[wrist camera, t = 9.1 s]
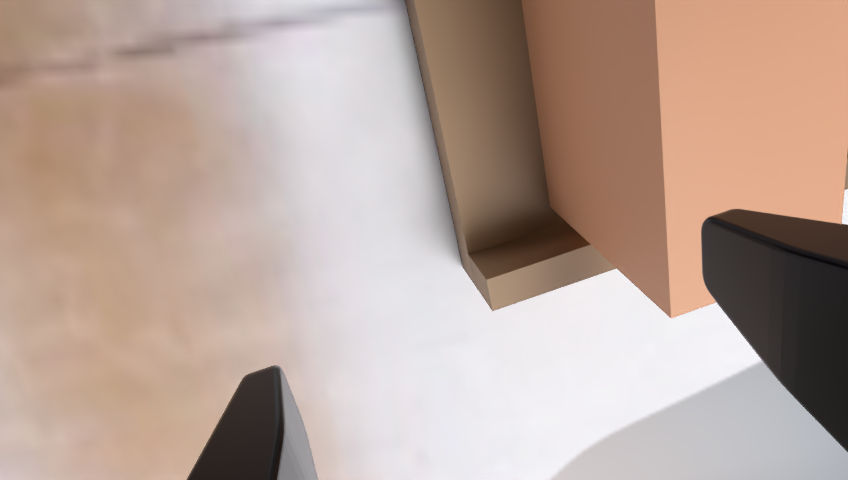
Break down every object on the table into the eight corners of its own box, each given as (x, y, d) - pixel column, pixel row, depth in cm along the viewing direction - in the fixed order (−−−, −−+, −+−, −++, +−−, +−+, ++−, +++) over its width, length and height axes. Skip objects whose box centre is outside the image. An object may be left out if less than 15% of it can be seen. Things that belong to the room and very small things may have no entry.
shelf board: (463, 268, 21) (577, 434, 15) (373, -144, 16) (488, -165, 10) (959, 102, 24) (1244, 183, 17) (1023, -303, 18) (1467, -407, 12)
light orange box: (550, 206, 20) (671, 318, 15) (500, -154, 16) (646, -176, 11) (678, 165, 21) (838, 258, 15) (664, -195, 16) (880, -234, 11)
